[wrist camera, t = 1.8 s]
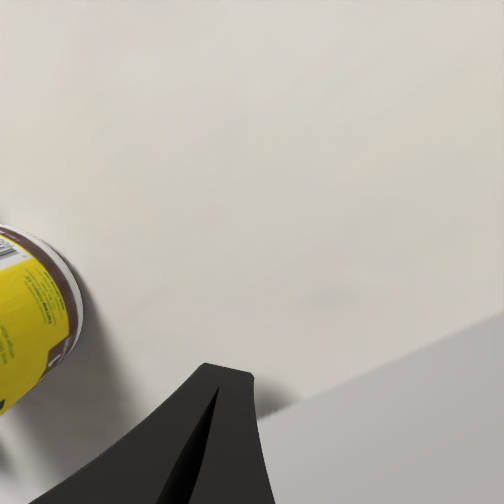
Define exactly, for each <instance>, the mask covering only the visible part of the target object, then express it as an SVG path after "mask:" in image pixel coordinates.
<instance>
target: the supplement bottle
mask: <svg viewBox="0 0 504 504" xmlns="http://www.w3.org/2000/svg"><path fill="white" fill-rule="evenodd" d="M82 323H83V305H82V299H81V295H80V291H79V288H78V285H77V283H76V281H75V279H74V277H73V275H72V273H71V272H70V270H69V269H68V267H67V265H66V264H65V263H64V262H63V260H62V259H61V258H60V257H59V256H58V255H57V254H56V253H55V252H54V251H53V250H52V249H51V248H50V247H49V246H48V245H46V244H45V243H44V242H42V241H41V240H39V239H38V238H36V237H35V236H33V235H31V234H29V233H27V232H25V231H23V230H20V229H17V228H14V227H11V226H7V225H2V224H0V416H1V415H2V414H3V413H5V412H6V411H7V410H8V409H9V408H10V407H11V406H12V405H13V404H15V403H16V402H17V401H18V400H19V399H20V398H21V397H22V396H24V395H25V394H26V393H27V392H28V391H29V390H30V389H31V388H33V387H34V386H35V385H36V384H37V383H38V382H39V381H40V380H42V379H43V378H44V377H45V376H46V375H47V374H48V373H50V372H51V371H52V370H53V369H54V368H55V367H56V366H57V365H58V364H59V363H60V362H62V361H63V360H64V359H65V358H66V356H67V355H68V354H69V353H70V352H71V350H72V349H73V347H74V346H75V344H76V342H77V340H78V338H79V335H80V332H81V328H82Z"/></svg>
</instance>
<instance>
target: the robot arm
mask: <svg viewBox="0 0 504 504" xmlns="http://www.w3.org/2000/svg"><path fill="white" fill-rule="evenodd" d="M29 504H275V501H274V497H273V494H272V490H271V486H270V483H269V478H268V474H267V470H266V467H265V462H264V458H263V453H262V449H261V443H260V438H259V433H258V427H257V421H256V414H255V405H254V376H253V375H252V374H251V373H249V372H245V371H240V370H236V369H231V368H227V367H222V366H218V365H213V364H209V363H203V364H202V365H200V366H199V367H198V368H197V369H196V371H195V372H194V373H193V374H192V375H191V376H190V377H189V378H188V379H187V380H186V381H185V382H184V383H183V384H182V385H181V386H180V387H179V388H178V389H177V390H176V391H175V392H174V393H173V394H172V395H171V396H170V397H169V398H168V399H166V400H165V401H164V402H163V403H162V404H161V405H160V406H159V407H158V408H157V409H155V410H154V411H153V412H152V413H151V414H150V415H149V416H148V417H147V418H145V419H144V420H143V421H142V422H141V423H139V424H138V425H137V426H136V427H134V428H133V429H132V430H131V431H130V432H128V433H127V434H126V435H125V436H123V437H122V438H121V439H120V440H119V441H117V442H116V443H115V444H114V445H112V446H111V447H110V448H108V449H107V450H106V451H104V452H103V453H102V454H100V455H99V456H98V457H96V458H95V459H94V460H92V461H91V462H90V463H88V464H87V465H85V466H84V467H83V468H81V469H80V470H78V471H77V472H76V473H74V474H73V475H71V476H70V477H68V478H67V479H66V480H64V481H63V482H61V483H60V484H58V485H57V486H55V487H53V488H52V489H50V490H49V491H47V492H46V493H44V494H43V495H41V496H40V497H38V498H36V499H35V500H33V501H32V502H30V503H29Z"/></svg>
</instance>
